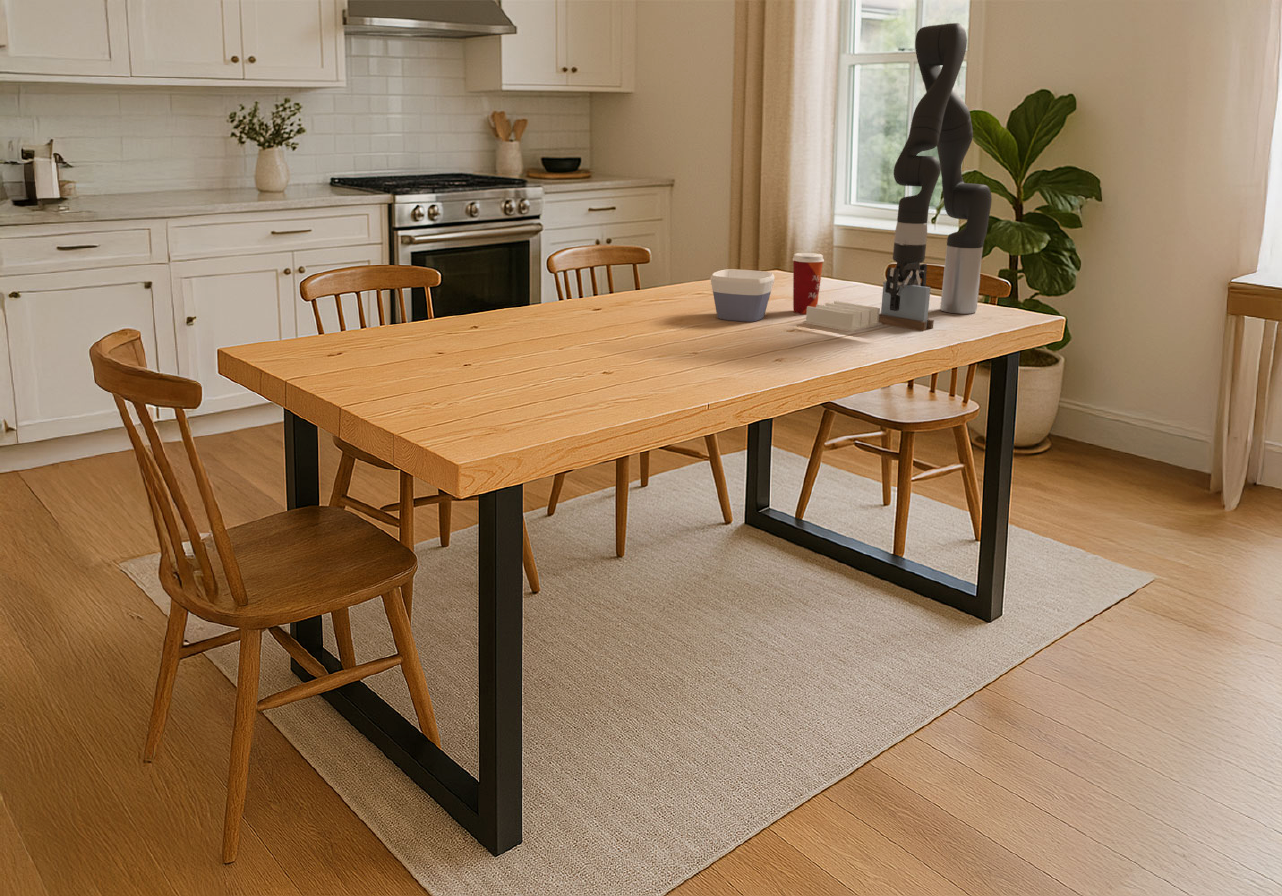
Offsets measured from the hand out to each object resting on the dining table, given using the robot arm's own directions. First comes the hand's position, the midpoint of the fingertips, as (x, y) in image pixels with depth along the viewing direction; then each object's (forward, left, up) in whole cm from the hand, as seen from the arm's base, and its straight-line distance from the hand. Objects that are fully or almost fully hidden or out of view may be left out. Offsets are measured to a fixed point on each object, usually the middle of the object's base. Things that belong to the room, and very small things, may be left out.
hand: (903, 308), depth 266 cm
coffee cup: (+1, -29, -5) cm, 29 cm away
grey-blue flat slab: (0, 0, -4) cm, 4 cm away
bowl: (+20, -35, -5) cm, 40 cm away
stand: (0, 0, -5) cm, 5 cm away
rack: (+10, -11, -5) cm, 15 cm away
